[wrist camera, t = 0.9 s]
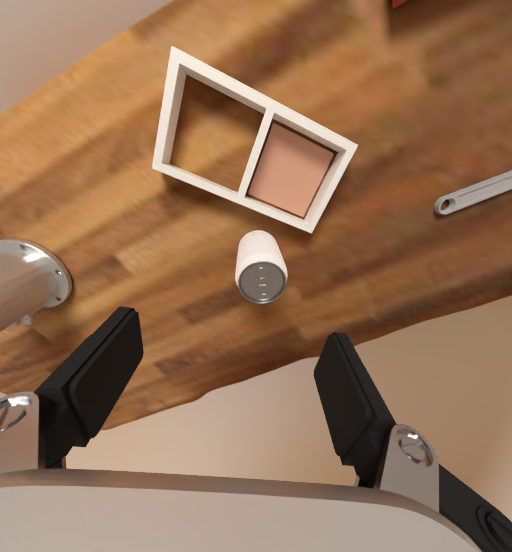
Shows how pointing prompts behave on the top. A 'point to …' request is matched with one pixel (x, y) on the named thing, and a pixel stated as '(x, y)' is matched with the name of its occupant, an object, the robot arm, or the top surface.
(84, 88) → the top surface
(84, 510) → the robot arm
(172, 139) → the caddy
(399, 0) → the mallet
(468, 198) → the adjustable wrench
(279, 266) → the can
